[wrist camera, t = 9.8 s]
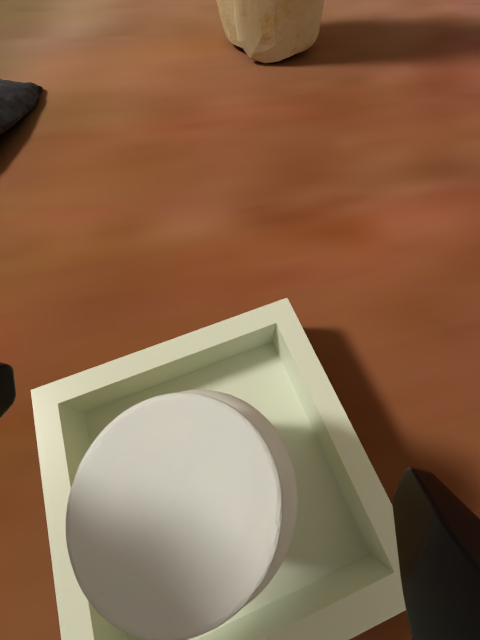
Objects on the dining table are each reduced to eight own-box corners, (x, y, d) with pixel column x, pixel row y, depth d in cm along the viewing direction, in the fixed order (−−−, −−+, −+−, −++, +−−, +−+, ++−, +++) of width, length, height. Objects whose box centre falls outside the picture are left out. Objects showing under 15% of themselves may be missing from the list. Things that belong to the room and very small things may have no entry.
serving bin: (394, 564, 14) (437, 593, 11) (121, 700, 13) (78, 780, 9) (280, 326, 19) (287, 297, 16) (70, 404, 17) (30, 390, 14)
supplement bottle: (213, 586, 13) (146, 830, 4) (132, 481, 15) (-36, 503, 6) (301, 481, 15) (383, 503, 6) (219, 395, 16) (186, 313, 7)
